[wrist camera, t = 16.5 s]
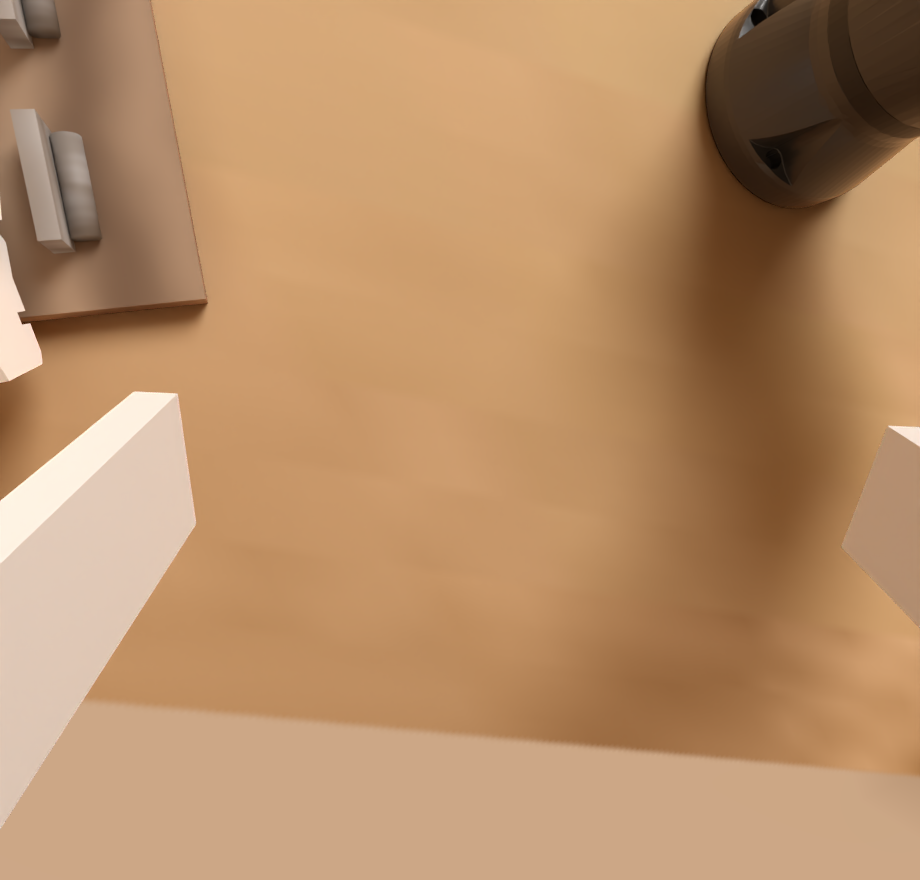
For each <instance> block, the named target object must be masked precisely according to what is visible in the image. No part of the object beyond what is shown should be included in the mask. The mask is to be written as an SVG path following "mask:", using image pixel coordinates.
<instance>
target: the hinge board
mask: <svg viewBox="0 0 920 880" xmlns="http://www.w3.org/2000/svg"><path fill="white" fill-rule="evenodd" d="M0 204H1V215H2V220H0V235H1V236H2V238H3V239H4V241H5V242H6V245H7V251H8V256H9V261H10V267H11V272H12V277H13V280H14V283H15V285H16V288H17V290H18V293H19V296H20V298H21V301H22V303H23V306H24V309H25V311H22V312H17V313H18V316H19V318H20V321H21V323H22V322H31V321H41V320H51V319H60V318H70V317H79V316H89V315H99V314H108V313H118V312H128V311H137V310H147V309H156V308H166V307H176V306H185V305H195V304H205V303H208V302H207V296H206V291H205V286H204V280H203V275H202V270H201V264H200V259H199V254H198V249H197V243H196V238H195V233H194V227H193V222H192V217H191V211H190V206H189V201H188V196H187V190H186V185H185V180H184V174H183V169H182V164H181V158H180V153H179V148H178V143H177V137H176V132H175V127H174V121H173V116H172V111H171V105H170V100H169V95H168V90H167V84H166V79H165V74H164V68H163V63H162V58H161V52H160V47H159V42H158V36H157V31H156V26H155V21H154V15H153V10H152V5H151V0H0Z"/></svg>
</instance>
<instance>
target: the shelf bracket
mask: <svg viewBox="0 0 920 880" xmlns="http://www.w3.org/2000/svg"><path fill="white" fill-rule="evenodd" d="M0 220H2V215H1V204H0ZM22 311H25V309H24V306H23V303H22V301H21V298H20V296H19V293H18V290H17V288H16V285H15V283H14V280H13V277H12V272H11V267H10V261H9V256H8V251H7V245H6V242H5V241H4V239H3V238H2V236H1V235H0V383H2V382H7V381H10V380H12V379H14V378H16V377H18V376H20V375H22V374H24V373H26V372H28V371H30V370H32V369H34V368H36V367H38V366H39V365H41V364H42V355H41V350H40V347H39V345H38V342H37V340H36V337H35V334H34V332H33V329H32V327H31V324H30V323H29V324H23V325H22V323H21V321H20V318H19V316H18V313H17V312H22Z"/></svg>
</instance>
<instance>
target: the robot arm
mask: <svg viewBox="0 0 920 880" xmlns="http://www.w3.org/2000/svg"><path fill="white" fill-rule="evenodd" d="M706 103H707V112H708V118H709V123H710V127H711V131H712V134H713V137H714V140H715V142H716V145H717V147H718V149H719V152H720V154H721V156H722V157H723V159H724V161H725V163H726V164H727V166H728V167H729V169H730V170H731V172H732V173H733V174H734V175H735V177H736V178H737V179H738V180H739V181H740V182H741V183H742V184H743V185H744V186H745V187H746V188H747V189H748V190H749V191H751V192H752V193H753V194H755V195H756V196H758V197H759V198H761V199H763V200H764V201H767V202H769V203H771V204H774V205H777V206H781V207H786V208H805V207H810V206H813V205H816V204H819V203H822V202H825V201H827V200H830V199H833V198H835V197H838V196H840V195H842V194H844V193H846V192H848V191H849V190H851V189H853V188H854V187H856V186H857V185H859V184H860V183H861V182H862V181H864V180H865V179H866V178H867V177H869V176H870V175H871V174H872V173H874V172H875V171H876V170H877V169H878V168H880V167H881V166H882V165H883V164H885V163H886V162H887V161H888V160H890V159H891V158H892V157H893V156H895V155H896V154H897V153H898V152H900V151H901V150H902V149H903V148H904V147H906V146H907V145H908V144H909V143H911V142H912V141H913V140H914V139H916V138H918V137H920V0H754V1H753V2H752V3H751V4H749V5H748V6H747V7H746V8H744V9H743V10H742V11H741V12H740V13H738V14H737V15H736V16H735V17H734V18H733V19H732V20H731V21H730V22H729V23H728V25H727V26H726V27H725V28H724V30H723V31H722V33H721V35H720V36H719V38H718V40H717V42H716V44H715V47H714V49H713V52H712V55H711V58H710V62H709V67H708V72H707V81H706ZM195 525H196V519H195V512H194V505H193V498H192V491H191V484H190V477H189V470H188V463H187V456H186V449H185V442H184V435H183V428H182V421H181V414H180V407H179V400H178V394H176V393H154V392H133V393H132V394H130V395H129V396H128V397H127V398H125V399H124V400H123V401H122V402H121V403H119V404H118V405H117V406H116V407H114V408H113V409H112V410H111V411H110V412H108V413H107V414H106V415H105V416H103V417H102V418H101V419H100V420H99V421H97V422H96V423H95V424H94V425H92V426H91V427H90V428H89V429H88V430H86V431H85V432H84V433H83V434H81V435H80V436H79V437H78V438H77V439H75V440H74V441H73V442H72V443H70V444H69V445H68V446H67V447H66V448H64V449H63V450H62V451H61V452H59V453H58V454H57V455H56V456H54V457H53V458H52V459H51V460H50V461H48V462H47V463H46V464H45V465H43V466H42V467H41V468H40V469H39V470H37V471H36V472H35V473H34V474H32V475H31V476H30V477H29V478H28V479H26V480H25V481H24V482H23V483H21V484H20V485H19V486H18V487H17V488H15V489H14V490H13V491H12V492H10V493H9V494H8V495H7V496H6V497H4V498H3V499H2V500H1V501H0V829H1V827H2V826H3V824H4V822H5V821H6V819H7V818H8V816H9V814H10V813H11V812H12V810H13V808H14V807H15V805H16V804H17V802H18V801H19V799H20V798H21V796H22V794H23V793H24V791H25V790H26V788H27V787H28V785H29V784H30V782H31V780H32V779H33V777H34V776H35V774H36V772H37V771H38V770H39V768H40V766H41V765H42V763H43V762H44V760H45V759H46V757H47V756H48V754H49V752H50V751H51V749H52V748H53V746H54V744H55V743H56V741H57V740H58V738H59V737H60V735H61V734H62V732H63V731H64V729H65V727H66V726H67V724H68V723H69V721H70V719H71V718H72V717H73V715H74V713H75V712H76V710H77V709H78V707H79V706H80V704H81V703H82V701H83V699H84V698H85V696H86V695H87V693H88V692H89V690H90V689H91V687H92V685H93V684H94V682H95V681H96V679H97V678H98V676H99V675H100V673H101V671H102V670H103V668H104V667H105V665H106V664H107V662H108V660H109V659H110V657H111V656H112V654H113V653H114V651H115V650H116V648H117V646H118V645H119V643H120V642H121V640H122V639H123V637H124V636H125V634H126V632H127V631H128V629H129V628H130V626H131V625H132V623H133V622H134V620H135V618H136V617H137V615H138V614H139V612H140V611H141V609H142V608H143V606H144V604H145V603H146V601H147V600H148V598H149V597H150V595H151V594H152V592H153V590H154V589H155V587H156V586H157V584H158V583H159V581H160V579H161V578H162V576H163V575H164V573H165V572H166V570H167V569H168V567H169V565H170V564H171V562H172V561H173V559H174V558H175V556H176V555H177V553H178V551H179V550H180V548H181V547H182V545H183V544H184V542H185V541H186V539H187V537H188V536H189V534H190V533H191V531H192V530H193V528H194V527H195ZM841 548H842V549H843V550H844V551H845V552H846V553H847V554H848V555H849V556H850V557H851V558H852V559H853V560H854V561H855V562H856V563H857V564H858V565H859V566H860V567H861V568H862V569H863V570H864V571H865V572H866V573H867V574H868V575H869V576H870V577H871V578H872V579H873V581H874V582H875V583H876V584H877V585H878V586H879V587H880V588H881V589H882V590H883V591H884V592H885V593H886V594H887V595H888V596H889V597H890V598H891V599H892V600H893V601H894V602H895V603H896V604H897V605H898V606H899V607H900V608H901V609H902V610H903V611H904V612H905V613H906V614H907V615H908V616H909V618H910V619H911V620H912V621H913V622H914V623H915V624H916V625H917V626H918V627H919V628H920V427H904V426H887V428H886V430H885V433H884V436H883V438H882V441H881V444H880V446H879V449H878V451H877V454H876V457H875V459H874V462H873V464H872V467H871V470H870V472H869V475H868V478H867V480H866V483H865V485H864V488H863V491H862V493H861V496H860V499H859V501H858V504H857V506H856V509H855V512H854V514H853V517H852V519H851V522H850V525H849V527H848V530H847V533H846V535H845V538H844V540H843V543H842V546H841Z"/></svg>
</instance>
